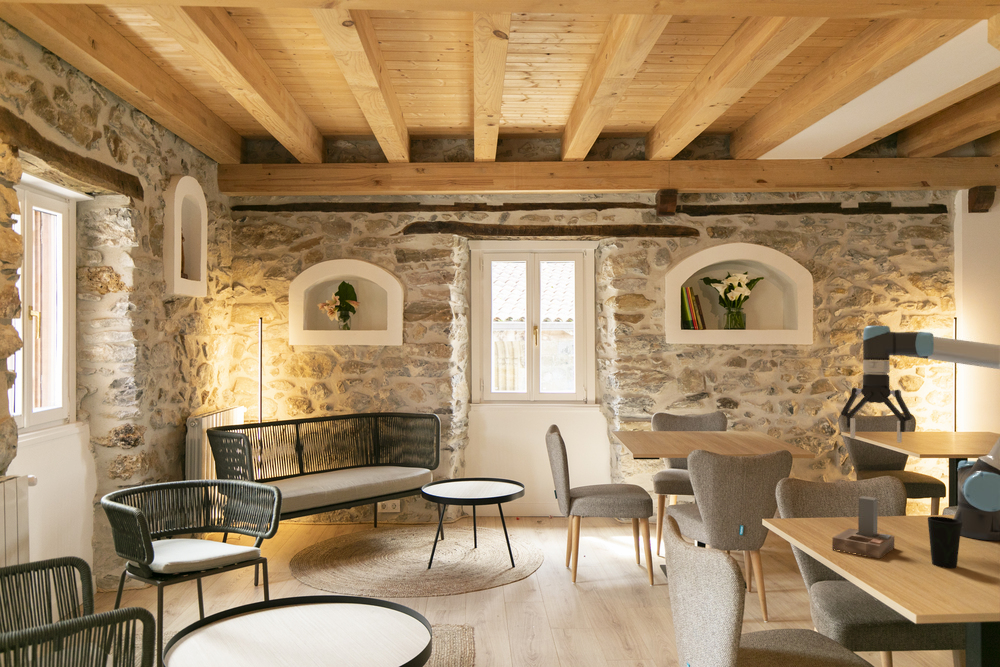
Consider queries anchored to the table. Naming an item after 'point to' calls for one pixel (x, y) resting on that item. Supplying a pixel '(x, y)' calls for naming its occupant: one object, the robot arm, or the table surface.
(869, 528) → the plug
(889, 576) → the table surface
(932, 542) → the cup
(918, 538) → the table surface
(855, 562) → the table surface
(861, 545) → the socket block
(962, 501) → the robot arm
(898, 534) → the table surface
